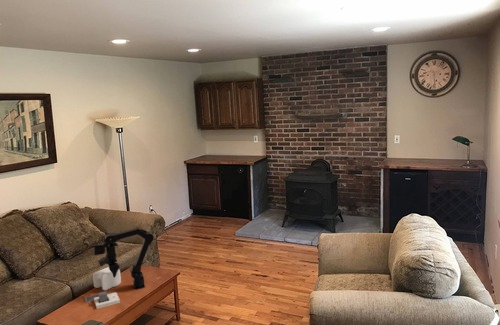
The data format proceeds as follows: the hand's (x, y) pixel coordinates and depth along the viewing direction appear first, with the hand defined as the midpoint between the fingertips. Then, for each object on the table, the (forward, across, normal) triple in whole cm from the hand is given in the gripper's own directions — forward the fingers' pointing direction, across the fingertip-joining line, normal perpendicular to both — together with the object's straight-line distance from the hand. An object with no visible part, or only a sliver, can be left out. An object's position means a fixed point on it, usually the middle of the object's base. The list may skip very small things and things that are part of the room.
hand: (113, 274), depth 268 cm
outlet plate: (+12, +12, -7) cm, 18 cm away
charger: (+12, +12, -9) cm, 19 cm away
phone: (+13, +2, -12) cm, 18 cm away
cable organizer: (+12, -11, -3) cm, 17 cm away
